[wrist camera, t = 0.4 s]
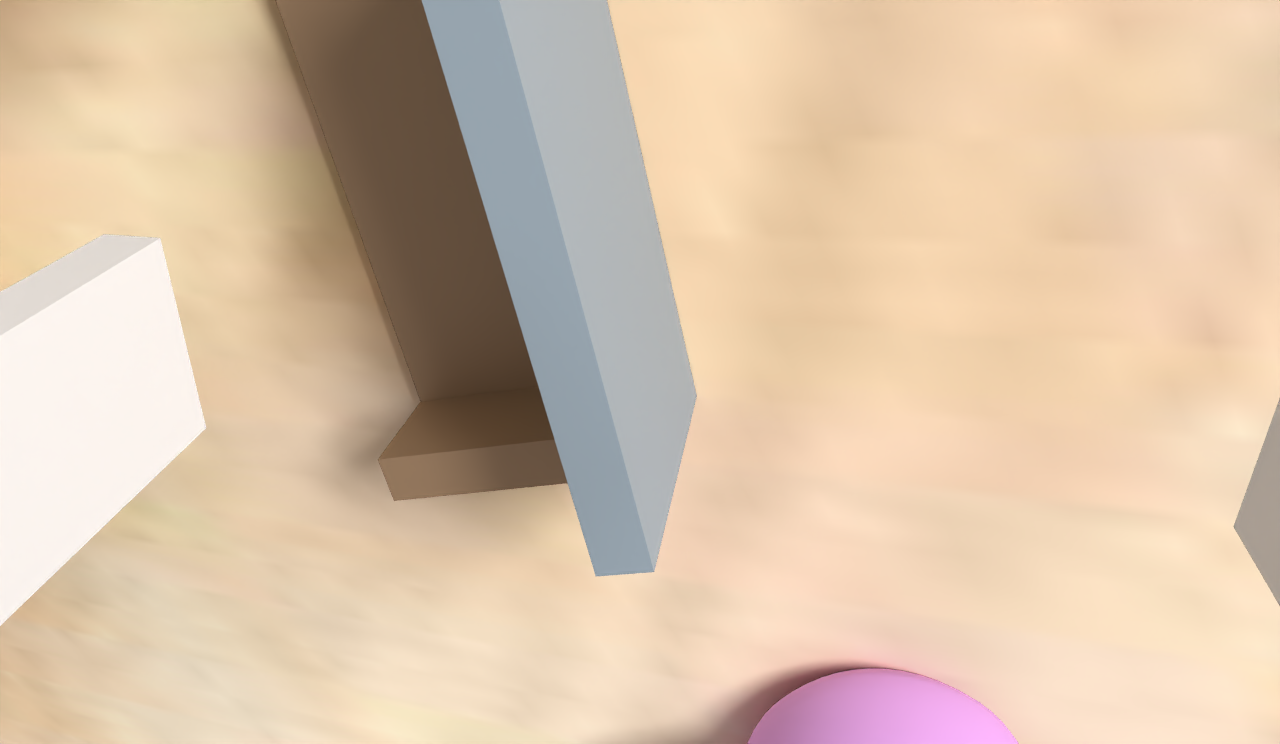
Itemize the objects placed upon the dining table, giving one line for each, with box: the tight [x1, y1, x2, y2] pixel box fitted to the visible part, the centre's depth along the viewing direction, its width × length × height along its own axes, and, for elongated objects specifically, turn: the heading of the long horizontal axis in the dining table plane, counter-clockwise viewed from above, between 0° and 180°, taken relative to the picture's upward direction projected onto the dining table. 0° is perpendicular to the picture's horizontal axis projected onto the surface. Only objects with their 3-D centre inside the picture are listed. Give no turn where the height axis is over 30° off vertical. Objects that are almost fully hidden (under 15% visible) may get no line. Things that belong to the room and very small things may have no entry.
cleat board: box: [276, 0, 697, 576], centre depth 35 cm, size 22×12×12 cm, turn 13°
